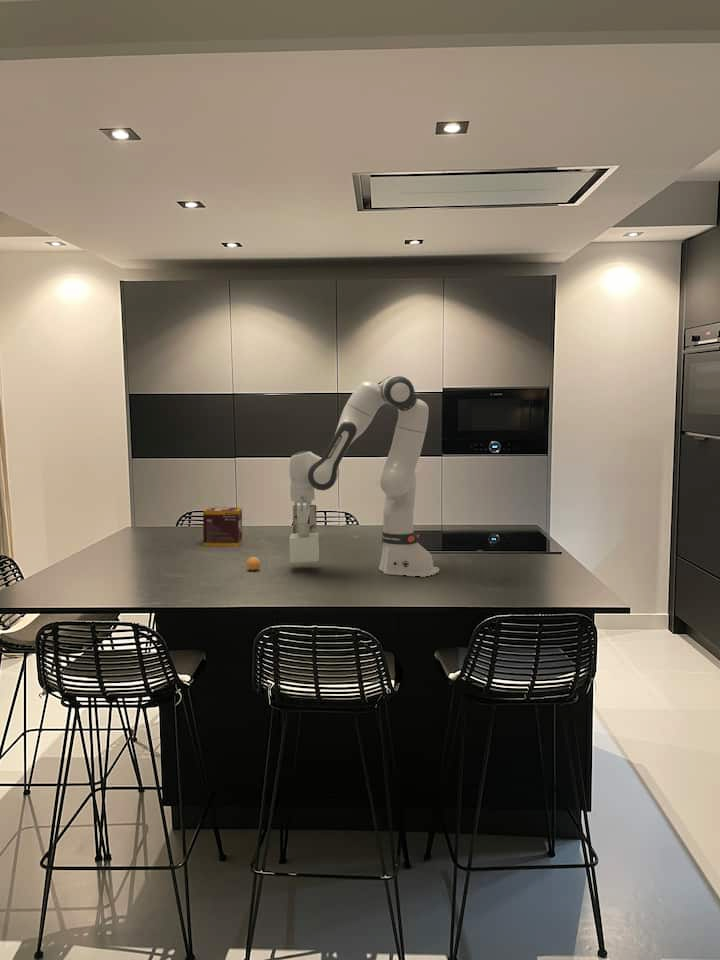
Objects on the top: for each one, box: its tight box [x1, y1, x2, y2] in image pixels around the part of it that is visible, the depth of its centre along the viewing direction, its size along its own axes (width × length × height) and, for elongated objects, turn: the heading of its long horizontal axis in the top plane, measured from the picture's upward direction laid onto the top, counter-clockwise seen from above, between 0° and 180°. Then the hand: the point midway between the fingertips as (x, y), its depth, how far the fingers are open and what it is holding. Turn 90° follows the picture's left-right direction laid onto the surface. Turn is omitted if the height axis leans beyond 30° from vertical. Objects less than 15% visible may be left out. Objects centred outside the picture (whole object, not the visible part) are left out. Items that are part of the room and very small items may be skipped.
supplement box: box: [202, 506, 243, 547], centre depth 324 cm, size 10×15×16 cm
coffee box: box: [292, 504, 318, 534], centre depth 333 cm, size 9×6×16 cm
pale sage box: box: [288, 524, 320, 563], centre depth 274 cm, size 10×10×13 cm
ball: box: [246, 556, 261, 572], centre depth 274 cm, size 5×5×5 cm
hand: (303, 532), depth 274 cm, fingers closed on pale sage box, 4 cm apart
